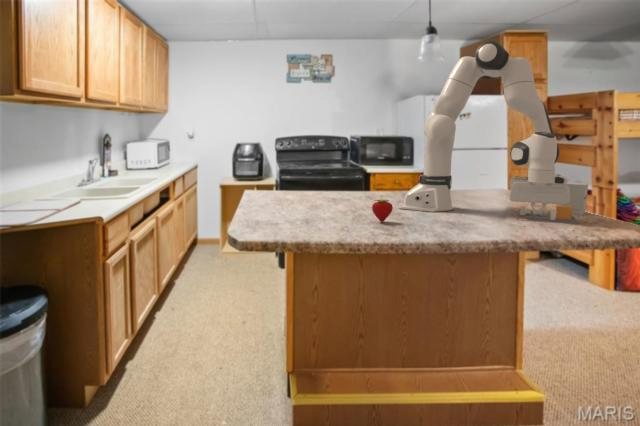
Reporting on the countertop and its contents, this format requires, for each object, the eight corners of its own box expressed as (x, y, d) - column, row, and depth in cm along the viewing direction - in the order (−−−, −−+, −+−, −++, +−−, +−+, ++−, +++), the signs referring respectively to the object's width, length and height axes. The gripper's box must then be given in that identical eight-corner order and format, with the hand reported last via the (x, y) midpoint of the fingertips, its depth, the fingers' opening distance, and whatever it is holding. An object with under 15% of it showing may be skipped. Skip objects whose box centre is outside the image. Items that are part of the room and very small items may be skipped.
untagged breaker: (520, 215, 187) (521, 206, 186) (520, 214, 188) (520, 205, 188) (524, 215, 186) (525, 206, 186) (524, 214, 188) (525, 205, 187)
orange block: (556, 218, 181) (557, 206, 180) (555, 216, 186) (556, 204, 185) (571, 219, 179) (572, 207, 178) (569, 217, 184) (570, 205, 183)
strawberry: (393, 223, 176) (393, 196, 174) (371, 223, 176) (372, 195, 174) (391, 220, 182) (392, 193, 180) (371, 220, 182) (371, 193, 180)
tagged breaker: (550, 219, 178) (551, 210, 177) (550, 219, 179) (550, 209, 179) (555, 220, 177) (556, 210, 177) (554, 219, 179) (555, 210, 178)
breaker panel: (516, 222, 178) (517, 217, 178) (516, 215, 193) (517, 210, 193) (578, 227, 171) (579, 221, 171) (573, 219, 186) (573, 213, 185)
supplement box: (582, 217, 189) (585, 185, 186) (561, 215, 193) (564, 183, 191) (585, 214, 194) (588, 183, 192) (565, 212, 199) (568, 181, 197)
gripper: (510, 177, 178) (507, 214, 181) (572, 179, 171) (568, 218, 173) (510, 175, 184) (507, 211, 186) (570, 177, 177) (567, 215, 179)
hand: (537, 215), depth 180 cm, fingers closed
